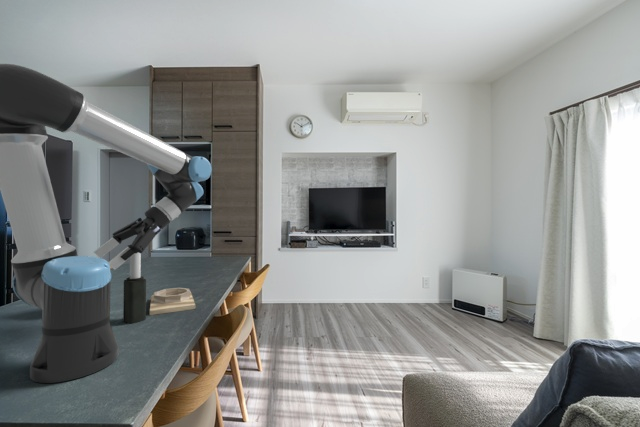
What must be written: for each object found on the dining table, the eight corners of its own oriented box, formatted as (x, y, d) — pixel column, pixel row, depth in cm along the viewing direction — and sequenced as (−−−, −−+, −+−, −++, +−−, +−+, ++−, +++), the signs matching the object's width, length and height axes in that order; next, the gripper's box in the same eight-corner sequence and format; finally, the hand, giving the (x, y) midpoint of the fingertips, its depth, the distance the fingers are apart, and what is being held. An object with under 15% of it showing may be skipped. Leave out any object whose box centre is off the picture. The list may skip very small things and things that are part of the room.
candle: (147, 319, 93) (148, 240, 93) (130, 324, 89) (130, 242, 89) (139, 316, 96) (139, 240, 96) (121, 320, 92) (122, 241, 92)
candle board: (195, 308, 104) (195, 297, 104) (149, 315, 97) (149, 303, 97) (190, 295, 121) (190, 285, 121) (151, 299, 114) (151, 289, 114)
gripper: (187, 228, 92) (127, 280, 82) (154, 216, 108) (101, 258, 97) (172, 211, 88) (107, 263, 77) (140, 200, 104) (82, 243, 93)
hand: (103, 260), depth 87 cm, fingers open, 13 cm apart
